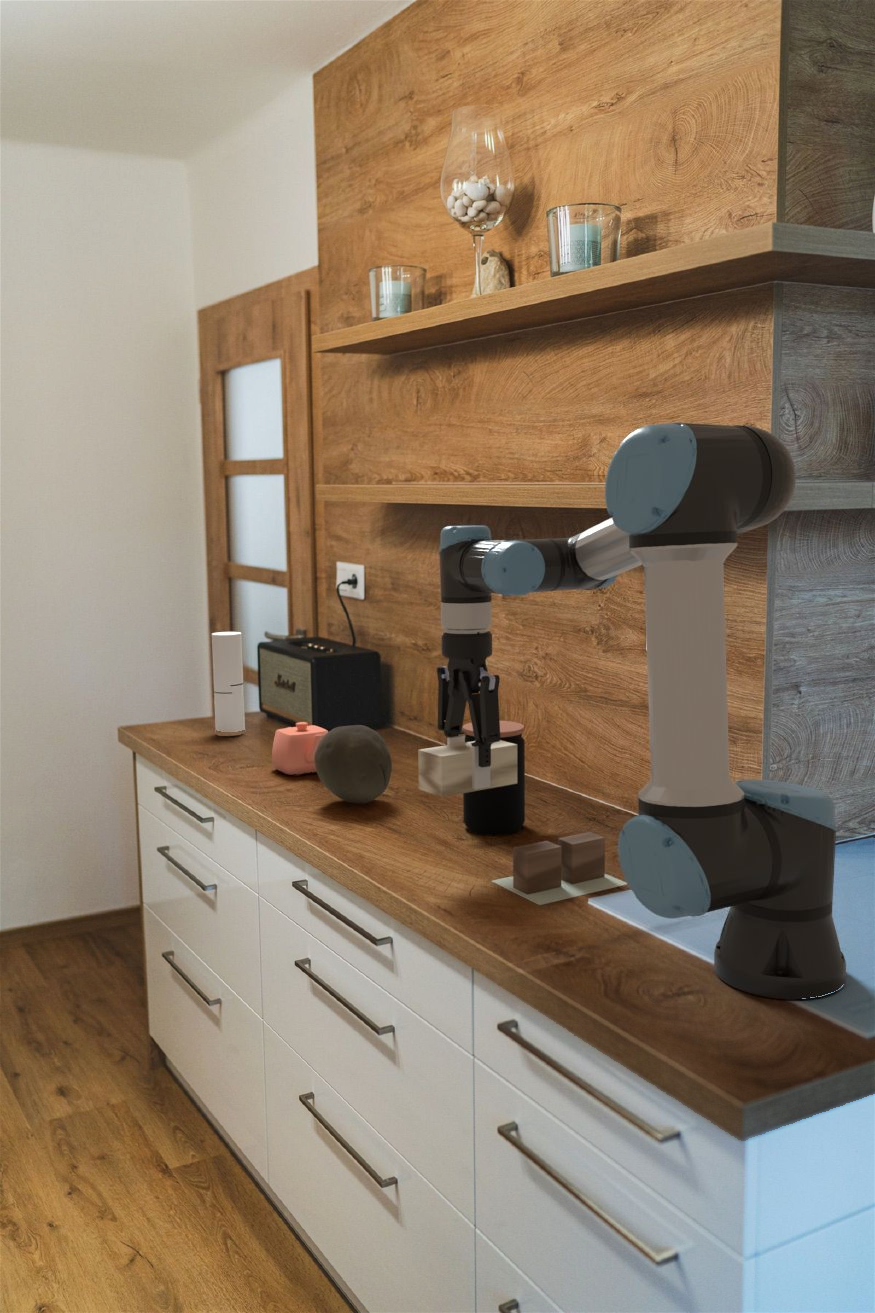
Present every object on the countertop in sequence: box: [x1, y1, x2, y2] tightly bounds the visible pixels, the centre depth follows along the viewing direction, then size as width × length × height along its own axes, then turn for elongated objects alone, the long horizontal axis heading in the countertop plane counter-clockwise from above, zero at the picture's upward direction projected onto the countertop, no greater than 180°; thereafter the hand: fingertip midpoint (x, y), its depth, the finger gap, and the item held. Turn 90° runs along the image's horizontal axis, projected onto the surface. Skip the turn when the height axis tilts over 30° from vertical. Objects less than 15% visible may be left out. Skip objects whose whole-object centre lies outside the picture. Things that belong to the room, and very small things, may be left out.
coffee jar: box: [462, 720, 526, 836], centre depth 199 cm, size 11×11×18 cm
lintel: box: [417, 740, 517, 798], centre depth 172 cm, size 6×14×6 cm, turn 125°
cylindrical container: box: [211, 631, 246, 732], centre depth 281 cm, size 7×7×25 cm
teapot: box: [271, 721, 329, 776], centre depth 243 cm, size 12×18×10 cm, turn 30°
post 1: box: [512, 840, 561, 895], centre depth 165 cm, size 4×6×6 cm, turn 121°
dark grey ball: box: [315, 724, 393, 805], centre depth 216 cm, size 14×14×15 cm
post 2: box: [557, 831, 606, 884], centre depth 169 cm, size 4×6×6 cm, turn 121°
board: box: [491, 873, 628, 906], centre depth 168 cm, size 12×16×1 cm
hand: (468, 782), depth 173 cm, fingers closed on lintel, 6 cm apart
